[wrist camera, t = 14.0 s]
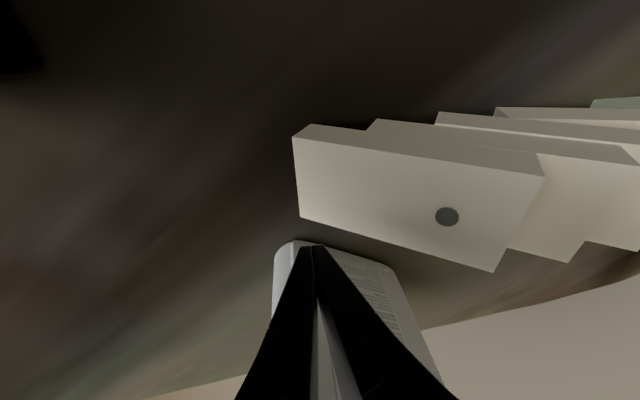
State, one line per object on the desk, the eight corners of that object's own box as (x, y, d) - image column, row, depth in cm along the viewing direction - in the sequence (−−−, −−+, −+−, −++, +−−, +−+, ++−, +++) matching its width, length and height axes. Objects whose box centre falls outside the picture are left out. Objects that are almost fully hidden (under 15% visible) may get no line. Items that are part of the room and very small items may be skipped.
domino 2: (365, 130, 13) (642, 166, 9) (376, 118, 14) (619, 144, 10) (360, 210, 16) (567, 263, 12) (370, 193, 17) (557, 235, 13)
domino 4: (434, 122, 13) (731, 154, 9) (438, 111, 14) (697, 135, 11) (416, 202, 16) (636, 252, 12) (421, 186, 17) (620, 226, 14)
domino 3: (510, 118, 13) (759, 123, 11) (496, 106, 15) (712, 109, 13) (478, 198, 16) (673, 211, 14) (469, 181, 18) (644, 191, 16)
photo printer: (264, 269, 20) (248, 519, 10) (286, 230, 18) (294, 494, 8) (370, 293, 24) (437, 493, 14) (398, 263, 22) (500, 472, 12)
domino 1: (290, 137, 12) (546, 179, 9) (310, 123, 14) (535, 153, 10) (299, 218, 15) (493, 275, 11) (315, 199, 17) (491, 243, 13)
